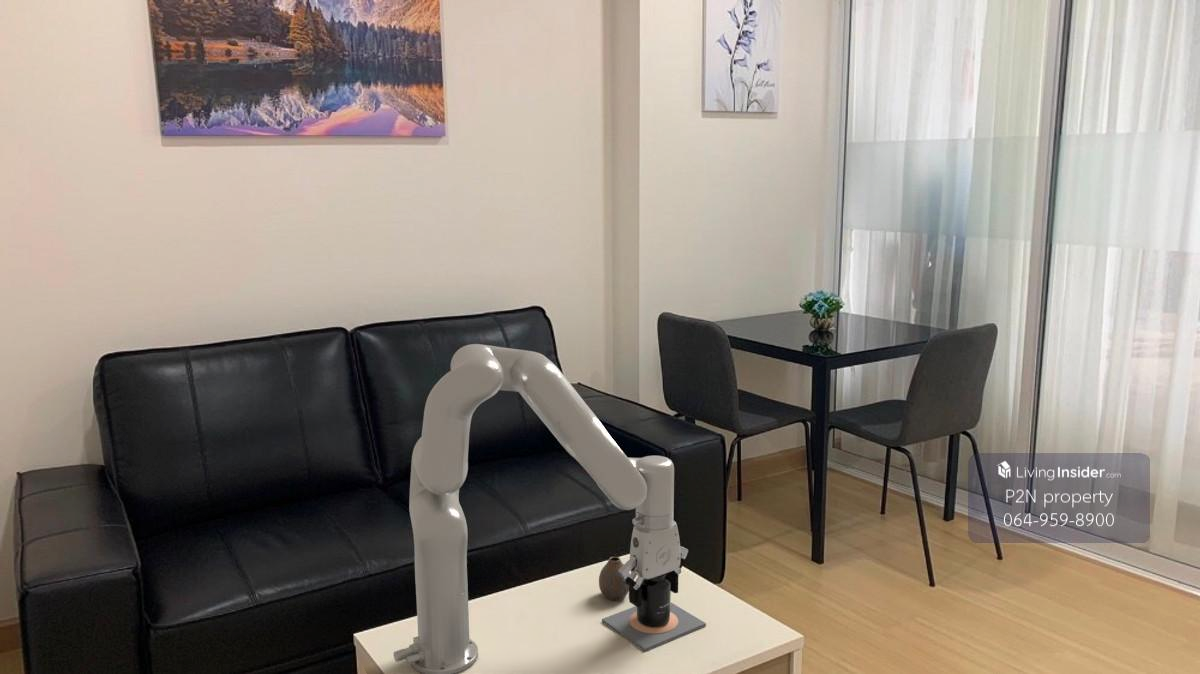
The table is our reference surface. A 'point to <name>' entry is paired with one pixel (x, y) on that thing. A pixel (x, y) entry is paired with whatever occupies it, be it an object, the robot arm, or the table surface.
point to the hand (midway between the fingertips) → (653, 597)
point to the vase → (612, 580)
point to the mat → (653, 636)
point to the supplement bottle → (655, 602)
